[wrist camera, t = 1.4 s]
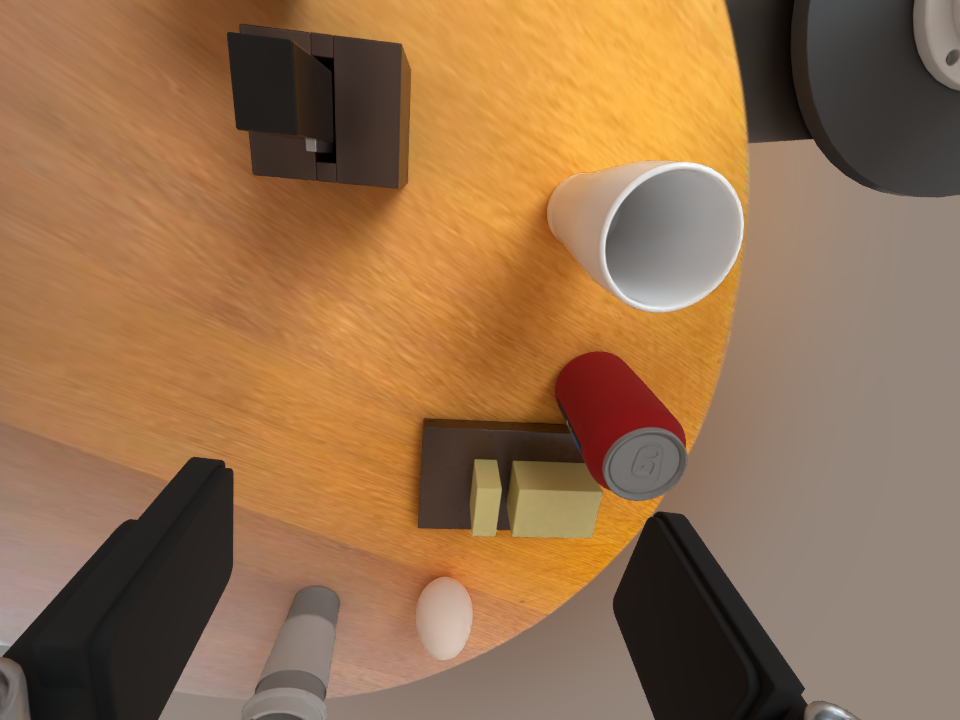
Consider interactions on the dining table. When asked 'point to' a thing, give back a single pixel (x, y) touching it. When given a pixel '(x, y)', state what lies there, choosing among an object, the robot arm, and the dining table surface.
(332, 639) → the cup
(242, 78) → the knife
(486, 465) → the butter slice
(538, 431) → the board
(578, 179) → the drinking glass
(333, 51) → the knife block
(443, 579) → the egg
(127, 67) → the dining table surface
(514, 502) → the butter block
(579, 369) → the beverage can
